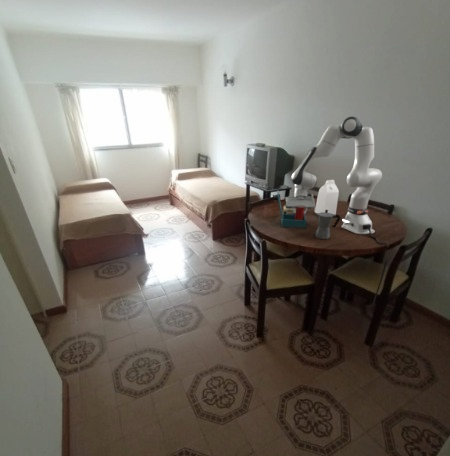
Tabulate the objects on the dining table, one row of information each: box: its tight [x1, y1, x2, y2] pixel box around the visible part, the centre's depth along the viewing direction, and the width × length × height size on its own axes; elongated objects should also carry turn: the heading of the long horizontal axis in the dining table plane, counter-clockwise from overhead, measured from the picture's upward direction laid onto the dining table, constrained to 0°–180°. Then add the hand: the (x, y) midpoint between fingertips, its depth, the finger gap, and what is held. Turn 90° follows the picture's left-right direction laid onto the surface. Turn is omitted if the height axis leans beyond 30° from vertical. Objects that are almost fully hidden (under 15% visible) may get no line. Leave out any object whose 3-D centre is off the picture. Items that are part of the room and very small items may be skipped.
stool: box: [283, 205, 296, 214], centre depth 212 cm, size 10×10×8 cm
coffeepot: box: [314, 210, 341, 240], centre depth 175 cm, size 15×9×18 cm, turn 68°
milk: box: [314, 179, 340, 215], centre depth 216 cm, size 12×12×26 cm
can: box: [295, 205, 305, 220], centre depth 196 cm, size 6×6×13 cm
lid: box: [271, 190, 284, 220], centre depth 195 cm, size 17×13×5 cm
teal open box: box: [281, 213, 307, 228], centre depth 199 cm, size 17×13×6 cm
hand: (299, 213), depth 195 cm, fingers closed on can, 5 cm apart
